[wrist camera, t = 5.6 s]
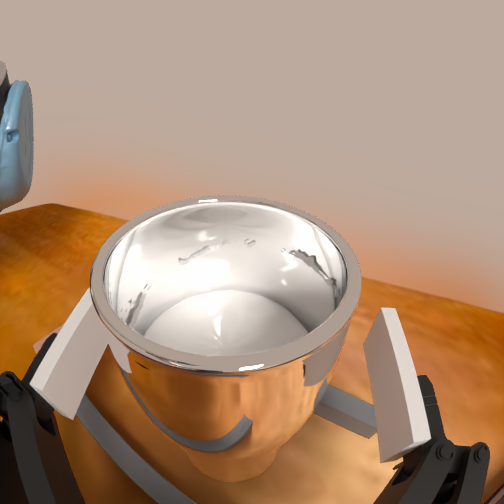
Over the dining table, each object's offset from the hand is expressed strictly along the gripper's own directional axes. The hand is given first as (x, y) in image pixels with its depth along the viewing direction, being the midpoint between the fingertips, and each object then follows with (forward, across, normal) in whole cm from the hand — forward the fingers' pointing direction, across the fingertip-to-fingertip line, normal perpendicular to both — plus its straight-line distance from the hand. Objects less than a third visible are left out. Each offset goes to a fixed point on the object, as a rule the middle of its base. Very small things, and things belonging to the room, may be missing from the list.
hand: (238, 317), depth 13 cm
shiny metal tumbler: (-3, 0, -9) cm, 10 cm away
